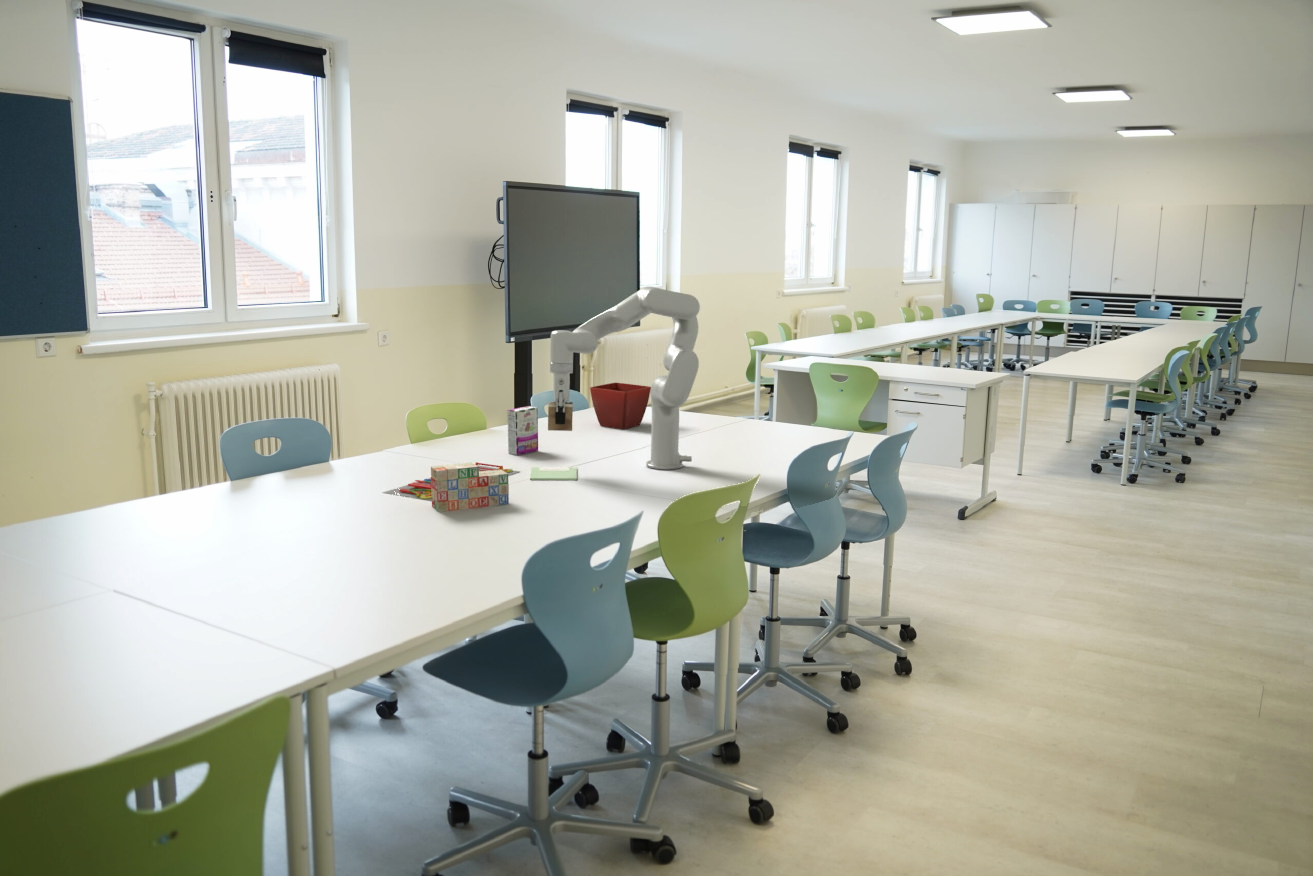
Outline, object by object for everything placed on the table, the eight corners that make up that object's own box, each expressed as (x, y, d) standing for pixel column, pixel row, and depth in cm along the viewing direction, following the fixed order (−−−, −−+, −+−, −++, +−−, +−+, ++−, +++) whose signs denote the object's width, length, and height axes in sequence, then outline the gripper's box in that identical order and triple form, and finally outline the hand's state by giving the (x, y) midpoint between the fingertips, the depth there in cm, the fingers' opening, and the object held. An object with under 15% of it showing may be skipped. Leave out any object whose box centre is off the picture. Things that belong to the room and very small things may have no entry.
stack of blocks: (501, 499, 294) (501, 459, 292) (509, 504, 289) (508, 463, 286) (431, 507, 284) (430, 465, 282) (437, 512, 279) (436, 470, 276)
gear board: (432, 494, 289) (382, 487, 298) (432, 503, 290) (382, 494, 298) (520, 466, 329) (473, 459, 337) (520, 473, 329) (473, 466, 338)
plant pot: (625, 432, 404) (626, 391, 401) (588, 426, 414) (588, 387, 411) (651, 425, 420) (652, 386, 417) (614, 420, 430) (615, 382, 427)
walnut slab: (572, 428, 331) (572, 402, 329) (572, 430, 327) (572, 404, 325) (547, 428, 330) (548, 401, 328) (547, 430, 326) (548, 403, 324)
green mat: (576, 469, 335) (576, 467, 335) (576, 480, 320) (576, 478, 320) (532, 469, 334) (532, 467, 334) (530, 480, 318) (530, 477, 318)
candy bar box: (528, 449, 366) (528, 405, 363) (538, 451, 363) (538, 407, 360) (507, 453, 357) (506, 409, 354) (517, 455, 354) (516, 410, 351)
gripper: (573, 371, 317) (571, 427, 320) (572, 365, 333) (571, 418, 336) (549, 370, 316) (548, 426, 319) (550, 364, 332) (549, 418, 336)
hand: (560, 422), depth 328 cm, fingers closed on walnut slab, 4 cm apart
